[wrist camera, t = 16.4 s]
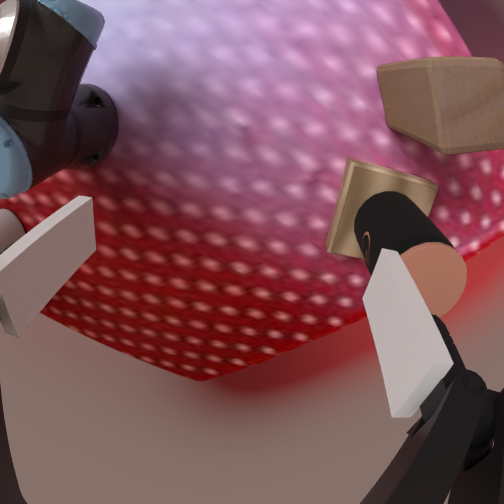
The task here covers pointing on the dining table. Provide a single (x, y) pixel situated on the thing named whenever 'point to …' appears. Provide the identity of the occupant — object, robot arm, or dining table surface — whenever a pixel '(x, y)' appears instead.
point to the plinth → (362, 188)
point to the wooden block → (446, 102)
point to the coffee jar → (412, 247)
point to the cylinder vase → (9, 229)
